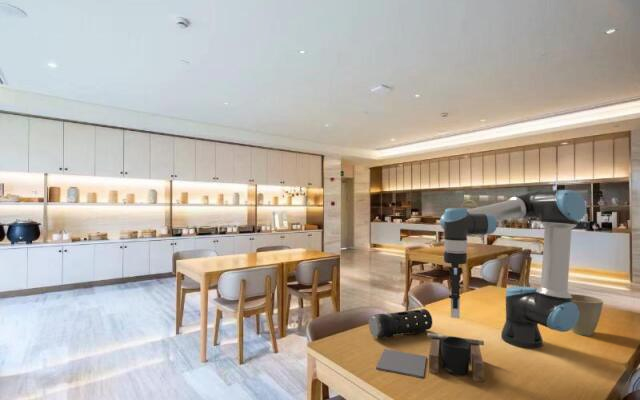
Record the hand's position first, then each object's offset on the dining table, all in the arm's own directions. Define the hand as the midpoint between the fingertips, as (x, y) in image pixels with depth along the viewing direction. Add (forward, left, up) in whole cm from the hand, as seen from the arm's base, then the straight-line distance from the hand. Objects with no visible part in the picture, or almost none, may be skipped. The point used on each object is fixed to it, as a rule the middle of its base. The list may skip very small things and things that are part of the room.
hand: (454, 311), depth 117 cm
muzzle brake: (+22, -25, -21) cm, 39 cm away
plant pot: (-55, -60, -21) cm, 84 cm away
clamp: (0, -4, -20) cm, 21 cm away
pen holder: (0, 0, -21) cm, 21 cm away
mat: (+18, +2, -20) cm, 27 cm away
